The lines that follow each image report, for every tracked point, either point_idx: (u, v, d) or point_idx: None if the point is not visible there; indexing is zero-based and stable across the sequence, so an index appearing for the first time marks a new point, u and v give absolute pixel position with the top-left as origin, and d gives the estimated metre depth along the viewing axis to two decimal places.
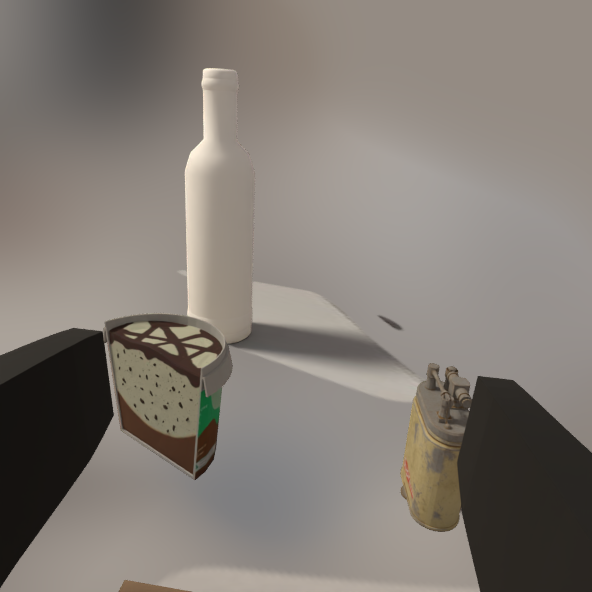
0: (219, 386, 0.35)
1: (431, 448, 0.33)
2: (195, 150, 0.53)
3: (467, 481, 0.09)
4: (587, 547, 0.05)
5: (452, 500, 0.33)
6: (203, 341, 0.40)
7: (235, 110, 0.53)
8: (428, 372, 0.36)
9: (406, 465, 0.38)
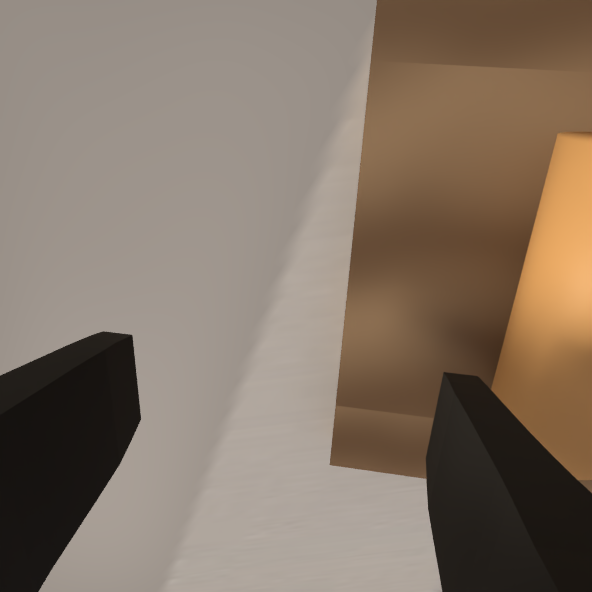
0: None
1: None
2: None
3: (432, 476, 0.09)
4: (524, 538, 0.05)
5: None
6: None
7: None
8: None
9: None
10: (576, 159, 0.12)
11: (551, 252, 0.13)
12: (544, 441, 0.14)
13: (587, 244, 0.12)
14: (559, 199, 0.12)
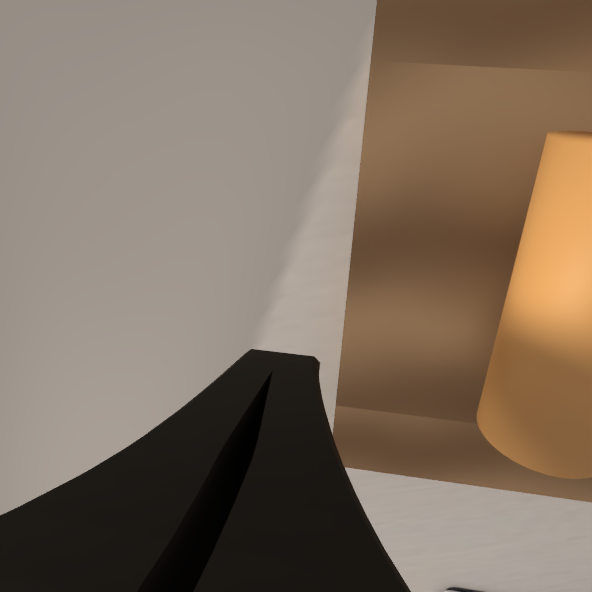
0: None
1: None
2: None
3: None
4: (240, 495, 0.05)
5: None
6: None
7: None
8: None
9: None
10: (557, 156, 0.12)
11: (534, 248, 0.13)
12: (525, 436, 0.14)
13: (566, 240, 0.12)
14: (542, 195, 0.13)
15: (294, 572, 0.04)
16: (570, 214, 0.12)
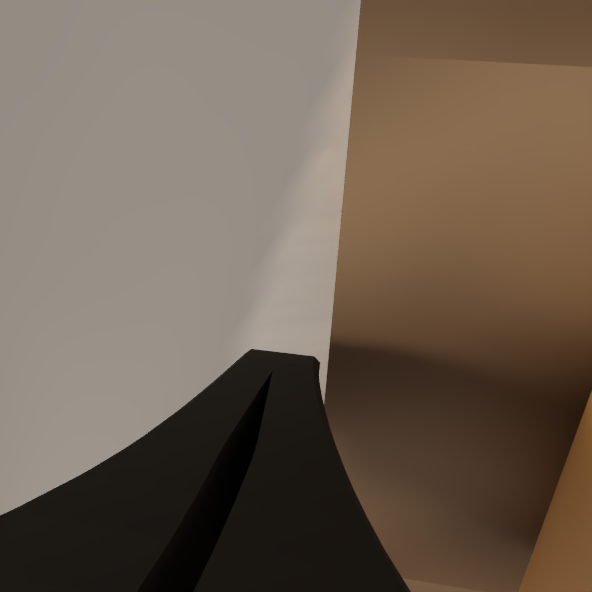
0: None
1: None
2: None
3: None
4: (241, 495, 0.05)
5: None
6: None
7: None
8: None
9: None
10: None
11: None
12: None
13: None
14: None
15: (294, 572, 0.04)
16: None
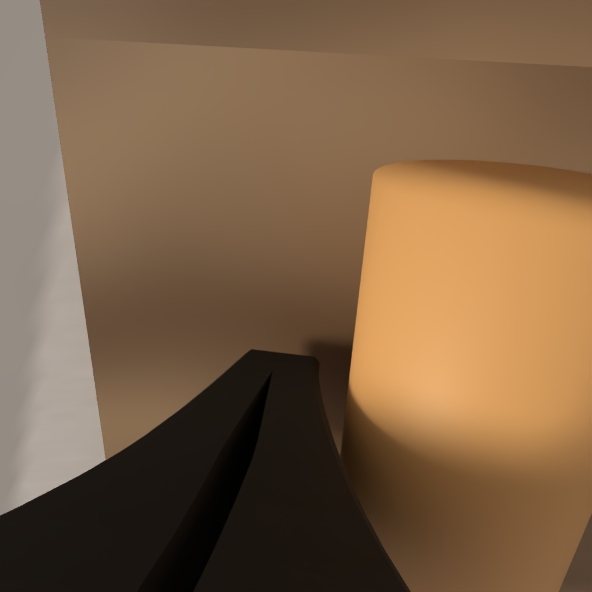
0: None
1: None
2: None
3: None
4: (240, 495, 0.05)
5: None
6: None
7: None
8: None
9: None
10: (428, 242, 0.06)
11: (401, 413, 0.06)
12: None
13: (471, 409, 0.06)
14: (401, 316, 0.06)
15: (294, 572, 0.04)
16: (476, 363, 0.06)
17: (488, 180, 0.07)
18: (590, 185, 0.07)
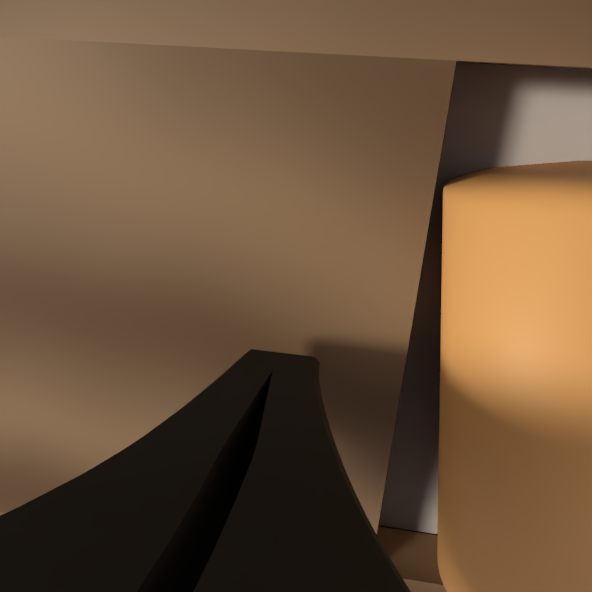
0: None
1: None
2: None
3: None
4: (240, 495, 0.05)
5: None
6: None
7: None
8: None
9: None
10: (443, 215, 0.09)
11: (441, 335, 0.09)
12: (464, 583, 0.10)
13: (457, 333, 0.09)
14: (442, 266, 0.09)
15: (294, 572, 0.04)
16: (456, 299, 0.08)
17: (556, 178, 0.08)
18: None
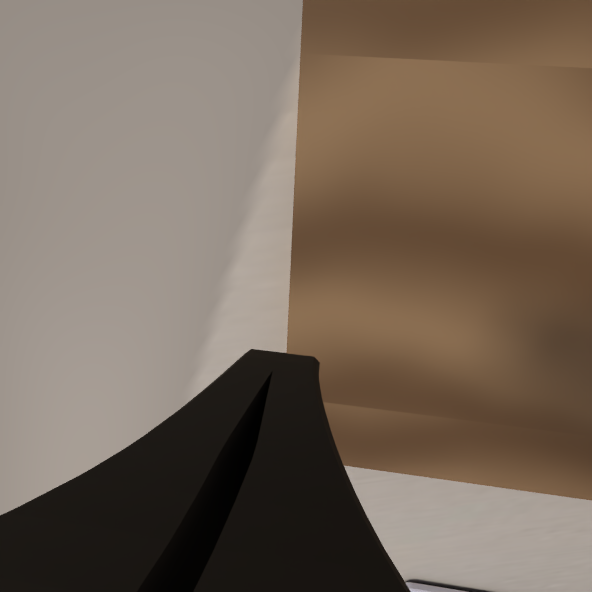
0: None
1: None
2: None
3: None
4: (240, 495, 0.05)
5: None
6: None
7: None
8: None
9: None
10: None
11: None
12: None
13: None
14: None
15: (294, 572, 0.04)
16: None
17: None
18: None
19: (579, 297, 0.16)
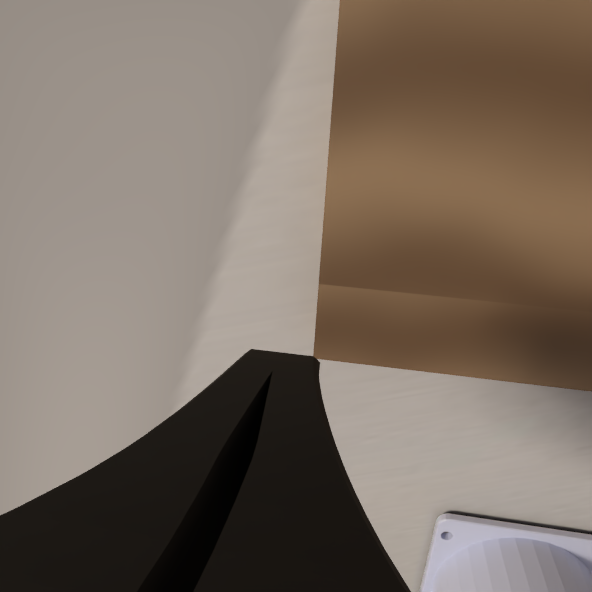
0: None
1: None
2: None
3: None
4: (240, 495, 0.05)
5: None
6: None
7: None
8: None
9: None
10: None
11: None
12: None
13: None
14: None
15: (294, 572, 0.04)
16: None
17: None
18: None
19: None
